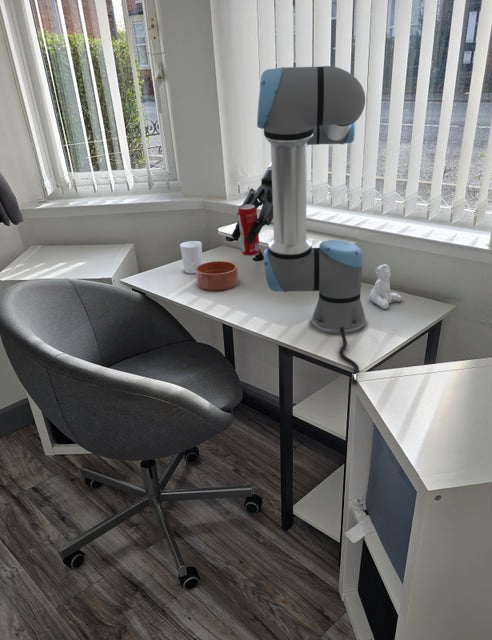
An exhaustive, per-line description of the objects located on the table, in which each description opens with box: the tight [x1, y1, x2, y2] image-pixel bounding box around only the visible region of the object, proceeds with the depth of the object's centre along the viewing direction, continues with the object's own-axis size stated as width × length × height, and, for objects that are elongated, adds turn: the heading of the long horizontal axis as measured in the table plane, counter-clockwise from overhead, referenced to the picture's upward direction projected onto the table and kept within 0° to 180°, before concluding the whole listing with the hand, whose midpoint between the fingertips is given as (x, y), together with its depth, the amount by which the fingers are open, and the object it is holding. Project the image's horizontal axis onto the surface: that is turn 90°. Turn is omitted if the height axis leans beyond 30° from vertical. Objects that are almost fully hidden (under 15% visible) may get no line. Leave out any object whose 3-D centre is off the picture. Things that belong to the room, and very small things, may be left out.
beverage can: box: [237, 204, 261, 257], centre depth 169 cm, size 6×6×15 cm
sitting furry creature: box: [369, 263, 402, 310], centre depth 166 cm, size 10×9×12 cm
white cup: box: [179, 240, 204, 274], centre depth 199 cm, size 8×8×10 cm
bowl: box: [195, 260, 239, 292], centre depth 187 cm, size 14×14×6 cm
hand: (241, 240), depth 167 cm, fingers closed on beverage can, 6 cm apart
